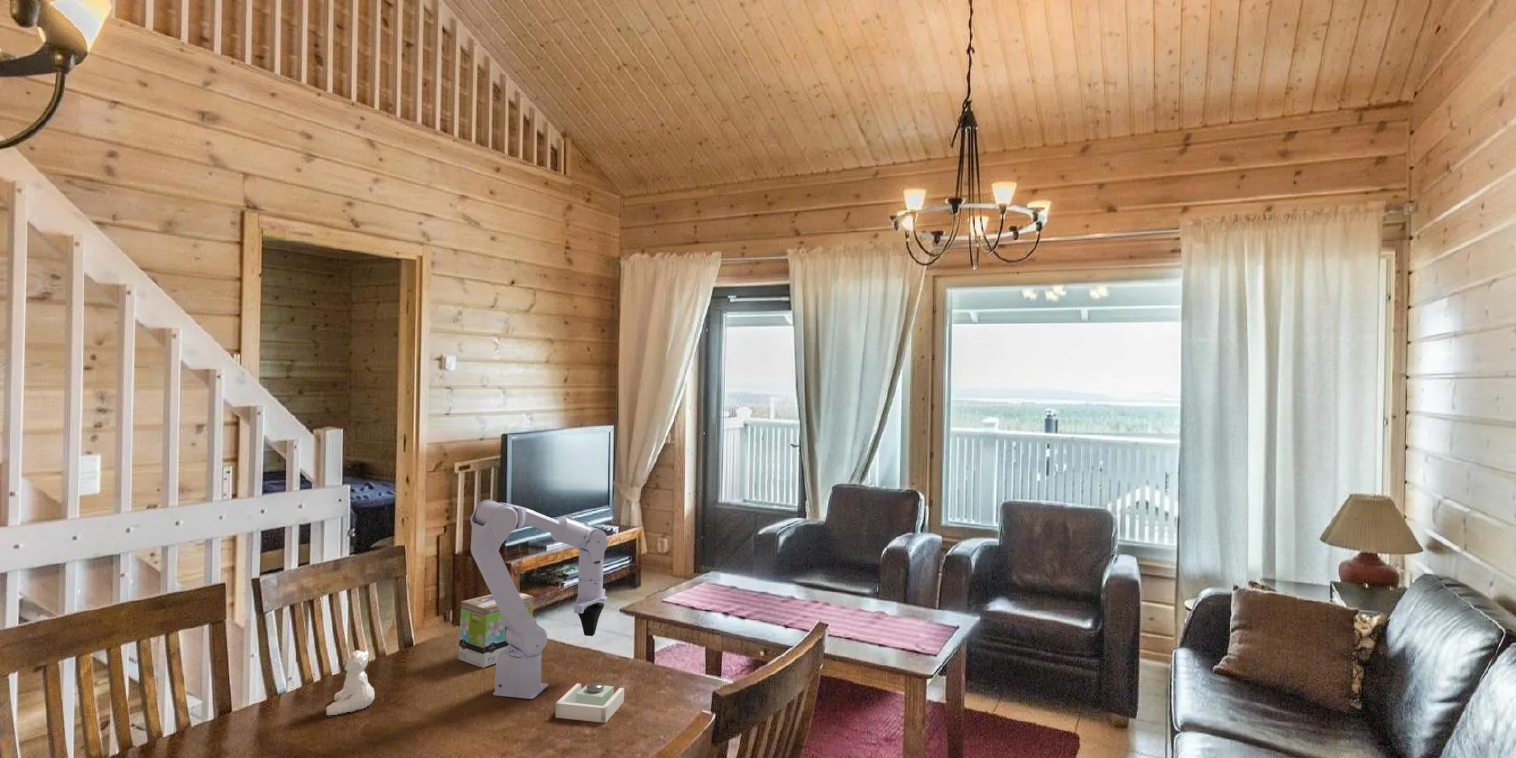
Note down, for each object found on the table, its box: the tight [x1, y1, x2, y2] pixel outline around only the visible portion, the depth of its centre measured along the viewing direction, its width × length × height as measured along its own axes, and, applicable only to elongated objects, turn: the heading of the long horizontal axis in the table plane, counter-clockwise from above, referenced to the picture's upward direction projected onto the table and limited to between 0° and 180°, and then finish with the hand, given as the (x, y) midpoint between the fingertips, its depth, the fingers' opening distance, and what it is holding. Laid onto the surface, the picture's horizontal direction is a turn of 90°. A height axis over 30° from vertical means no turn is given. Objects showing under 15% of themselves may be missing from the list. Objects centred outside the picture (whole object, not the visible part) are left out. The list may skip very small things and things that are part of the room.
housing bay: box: [554, 683, 625, 724], centre depth 174 cm, size 11×11×3 cm
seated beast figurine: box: [325, 649, 376, 716], centre depth 173 cm, size 10×9×12 cm
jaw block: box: [576, 681, 615, 706], centre depth 177 cm, size 6×6×4 cm
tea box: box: [458, 591, 534, 669], centre depth 205 cm, size 15×10×15 cm
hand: (589, 635), depth 194 cm, fingers closed
